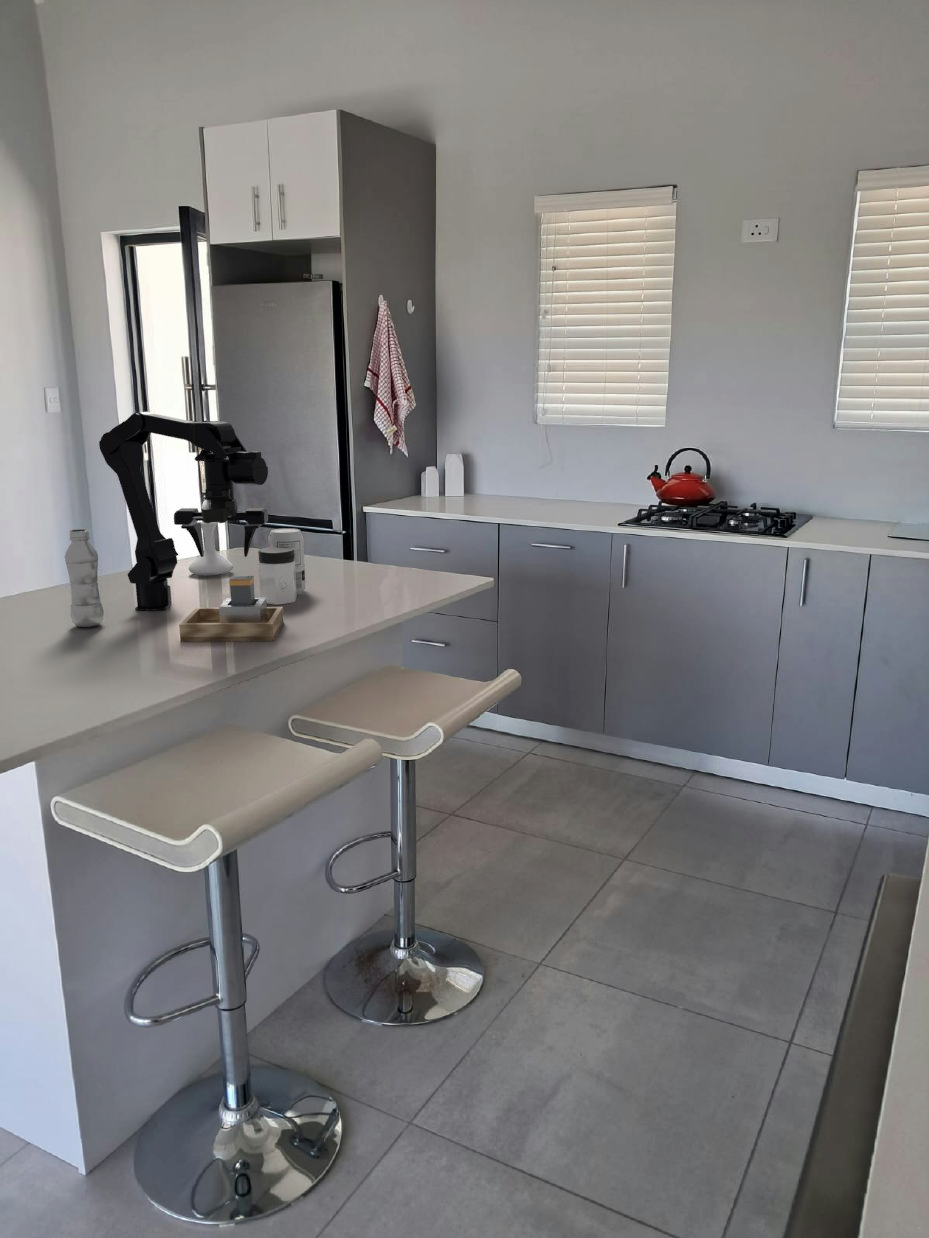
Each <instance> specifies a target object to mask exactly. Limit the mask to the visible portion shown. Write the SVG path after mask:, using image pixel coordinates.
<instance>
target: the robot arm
mask: <svg viewBox="0 0 929 1238" xmlns="http://www.w3.org/2000/svg"><path fill="white" fill-rule="evenodd" d="M151 434H155V435H161V436H164V437H168V438H169V437H170V438H175V439H180V440H185V441H186V442H189V443H190V444H192V445H193V446H195V447H197V448H199V449H200V450H201V451H200V452H199V453H198V454H197V455H196V456H194V461H195V462H203V463H204V464H203V466H204V467H203V468H204V481H205V483H204V484H205V490H204V491H205V492H204V493H205V497H204V500H203V502H202V505H201V508H200V510H201V511H199V509H198V507H197V508H196V507H191V508H190V507H188V508H187V507H185V508H184V507H181V508H180V509H178V510H176V511H175V512H174V514H173V523H174V524H173V525H176V526H177V525H178V526H180V528H181V529H184V530H186V531H187V532H188V534H190V536H191V538H192V540H193V542H194V543H195V544H194V545H195V547H196V549H197V551H198V554H199V556H201V557H203V556H204V550H205V545H204V540H203V533H202V532H203V530H202V528H201V522H202V521H203V522H204V523H210V522H218V523H219V524H224V523H226V522H230V521H233V522H235V521H236V522H237V521H239V522H241V521H245V522H246V524H245V525H244V527H243V528H244V540H243V541H244V543H243V553H244V554H243V555H244V557H245V558H247V557H248V554H249V551H250V547H251V544H252V542H253V541H252V540H253V537H254V535H255V532H256V531H257V529H259V528H261V526H263V525H265V524H267V523H268V521H269V511H268V510H267V509H266V507H251V508H250V507H248V508H247V509H246V510H245V511H238V503H237V500H236V498H235V485H234V484H237V485H246V486H247V485H250V486H251V485H254V486H262V485H264V484H265V483H266V481H267V478H268V476H269V467H268V466H267V463H266V460H265V459H264V458H263V457H262V452H261V451H259V450H258V451H256V450H255V451H247V449H246V448H245V446H244V445H243V443H242V442H241V441H240V439H239V437H238V436H237V434H236V432H235V428H234V427H233V425H232V424H231V423H229V422H227V421H203V422H202V421H201V422H196V421H191V420H187V419H181V418H178V417H171V416H166V415H162V414H156V413H153V412H152V411H137V412H134V413H132V414H131V415H130V416H128V417H127V419H126V420H124V421H122V422H121V423H119V424H118V425H116V426H114V427H113V428H112V429H110V431H108V432H105V433H103V435H102V436H101V437H100V438H101V439H100V440H99V441H98V443H99V444H98V446H99V450H100V453H101V455H102V457H103V458H104V461H105V463H106V465H108V467H109V468H110V469H111V470H113V473H115V474H116V476H117V479H118V481H119V483H120V488H121V490H122V494H123V496H124V500H125V503H126V507H127V509H128V512H129V516H130V519H131V521H132V522H131V523H132V525H133V529H134V531H135V535H136V539H137V540H136V544H135V550H134V556H135V561H136V562H135V564H134V565H133V566H132V568H131V569H130V570H129V572H128V573H127V578H128V580H129V583H130V584H132V585H133V584H135V594H136V604H137V606H136V607H134V609H135V611H165V610H166V609H168V607H170V606H171V605H172V591H171V585H169V584H168V579H171V578H173V574H174V572H175V571H174V570H175V569H176V567H177V564H178V557H177V556H179V553H178V551H177V550H176V548H175V547H176V546H175V541H174V539H173V537H170V538H168V537H167V538H166V537H165V535H163V533H161V531H160V527H159V525H158V522H157V518H156V515H155V512H154V509H153V506H152V503H151V500H150V499H151V498H150V495H149V492H148V489H147V486H146V483H145V479H144V477H143V473H142V470H141V467H142V463H143V457H144V454H143V453H144V452H143V448H142V447H143V446H144V445H145V444H146V443H147V442H148V441H149V439H150V436H151ZM218 523H217V524H218Z"/></svg>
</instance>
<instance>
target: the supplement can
mask: <svg viewBox="0 0 929 1238" xmlns="http://www.w3.org/2000/svg"><path fill="white" fill-rule="evenodd" d="M267 538H268V539H267V540H268V541H267V542H268V547H289V548H293V549H294V554H295V568H296V592H297V595H299V594H302V593H303V592H304V591H306V571H305V570H306V569H305V567H306V566H305V546H304V544H305V542H304V541H305V540H304V536H303V533H302V532H301V529H300V528H299V529H298V528H290V527H288V528H284V527H283V528H275V529H272V530H270V532H269V534H268V537H267Z"/></svg>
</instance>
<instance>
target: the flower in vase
mask: <svg viewBox="0 0 929 1238" xmlns="http://www.w3.org/2000/svg"><path fill="white" fill-rule="evenodd" d="M200 522H201V529H202V532H203V533H202V534H203V536H204V556H203V557H201V556H200V555H199V556H198V557H197V558H195V559H194V560H193V561H192V562H191V563H190V564H189V567H188V571H189V572H190V573H191V574H194V575H197V576H206V577H207V576H208V577H209V576H219V575H224V574H229V572H231V571H233V569H234V566H233V564H232V563H231V562H230V560H228V559H227V558H226V557H225V556H223V555H221V554H220V553H219V552H218V551H217V550H216V547H215V543H214V542H215V541H214V535H215V529H216V527H217V525H218V522H210V523H204V522H203V521H200Z"/></svg>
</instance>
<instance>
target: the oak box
mask: <svg viewBox="0 0 929 1238" xmlns="http://www.w3.org/2000/svg"><path fill="white" fill-rule="evenodd" d="M219 607H220V606H219ZM219 607H217V606H216V607H194V609H193V610H192V611H191V612H190V613H189V614H188V615H187V616H186V617H185V618H184V619H183V620H182V621H181V622H180V623H179V626H178V627H179V639H180V643H193V642H194V643H198V642H200V643H207V642H209V643H210V642H211V643H214V642H217V643H218V642H222V643H223V642H228V643H230V642H274V641H275V639H276V637H277V636H278V634H279V632H280V631H281V628H282V627H283V625H284V607H283V606H267V623H220V613H219Z"/></svg>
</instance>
